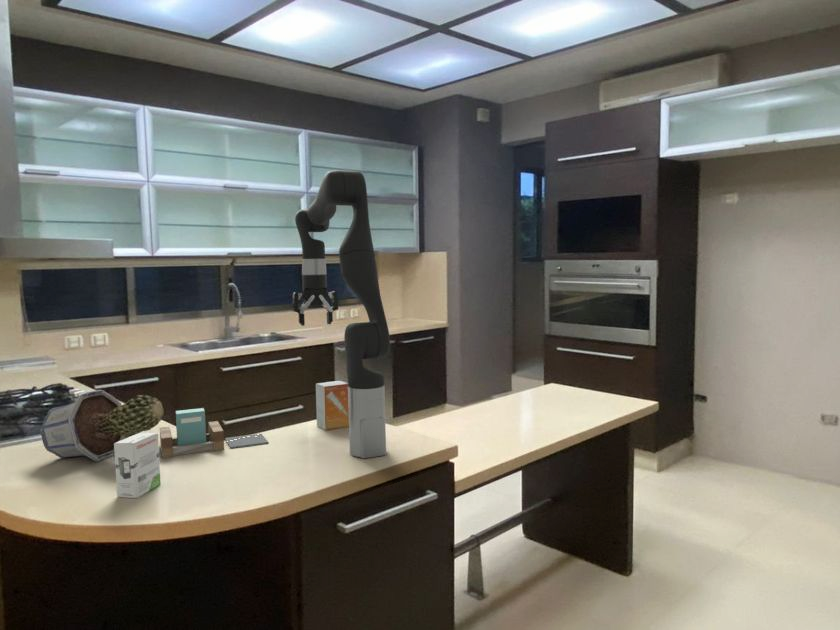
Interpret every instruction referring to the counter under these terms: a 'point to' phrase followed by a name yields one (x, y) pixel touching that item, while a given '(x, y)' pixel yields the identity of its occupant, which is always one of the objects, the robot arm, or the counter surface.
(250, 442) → the mat
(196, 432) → the teal box
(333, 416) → the small box
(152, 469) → the ink box
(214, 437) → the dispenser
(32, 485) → the counter surface
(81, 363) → the counter surface
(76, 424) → the potted plant
